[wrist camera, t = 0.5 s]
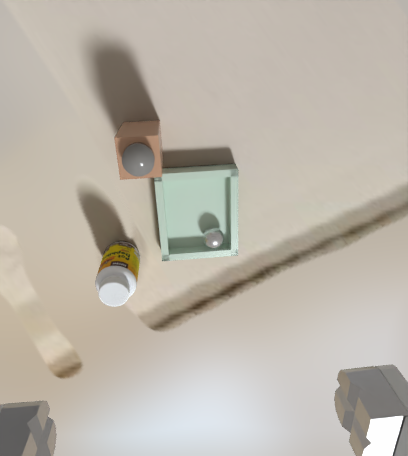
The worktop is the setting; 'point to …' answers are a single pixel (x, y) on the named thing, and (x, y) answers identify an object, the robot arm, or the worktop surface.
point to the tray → (197, 210)
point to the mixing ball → (213, 237)
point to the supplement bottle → (118, 273)
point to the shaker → (139, 150)
